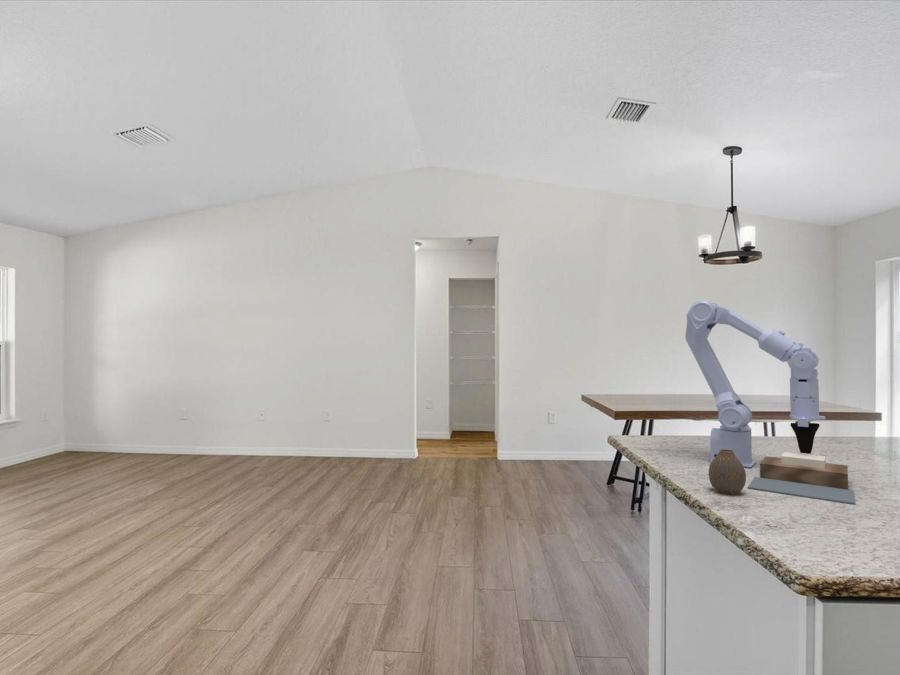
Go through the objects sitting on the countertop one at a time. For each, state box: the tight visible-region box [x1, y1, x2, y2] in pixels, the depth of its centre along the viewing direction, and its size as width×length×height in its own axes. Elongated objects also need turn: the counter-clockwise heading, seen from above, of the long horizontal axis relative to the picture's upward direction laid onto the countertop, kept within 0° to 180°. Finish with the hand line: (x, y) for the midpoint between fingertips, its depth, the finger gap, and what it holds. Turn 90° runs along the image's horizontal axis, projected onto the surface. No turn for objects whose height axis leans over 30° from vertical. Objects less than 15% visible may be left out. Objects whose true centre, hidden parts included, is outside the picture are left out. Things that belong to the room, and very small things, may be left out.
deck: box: [759, 455, 849, 490], centre depth 114 cm, size 16×10×4 cm, turn 51°
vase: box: [708, 449, 747, 495], centre depth 104 cm, size 7×7×9 cm
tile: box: [780, 451, 826, 469], centre depth 114 cm, size 8×6×2 cm
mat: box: [747, 476, 856, 506], centre depth 105 cm, size 18×11×1 cm, turn 51°
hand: (805, 453), depth 121 cm, fingers closed
